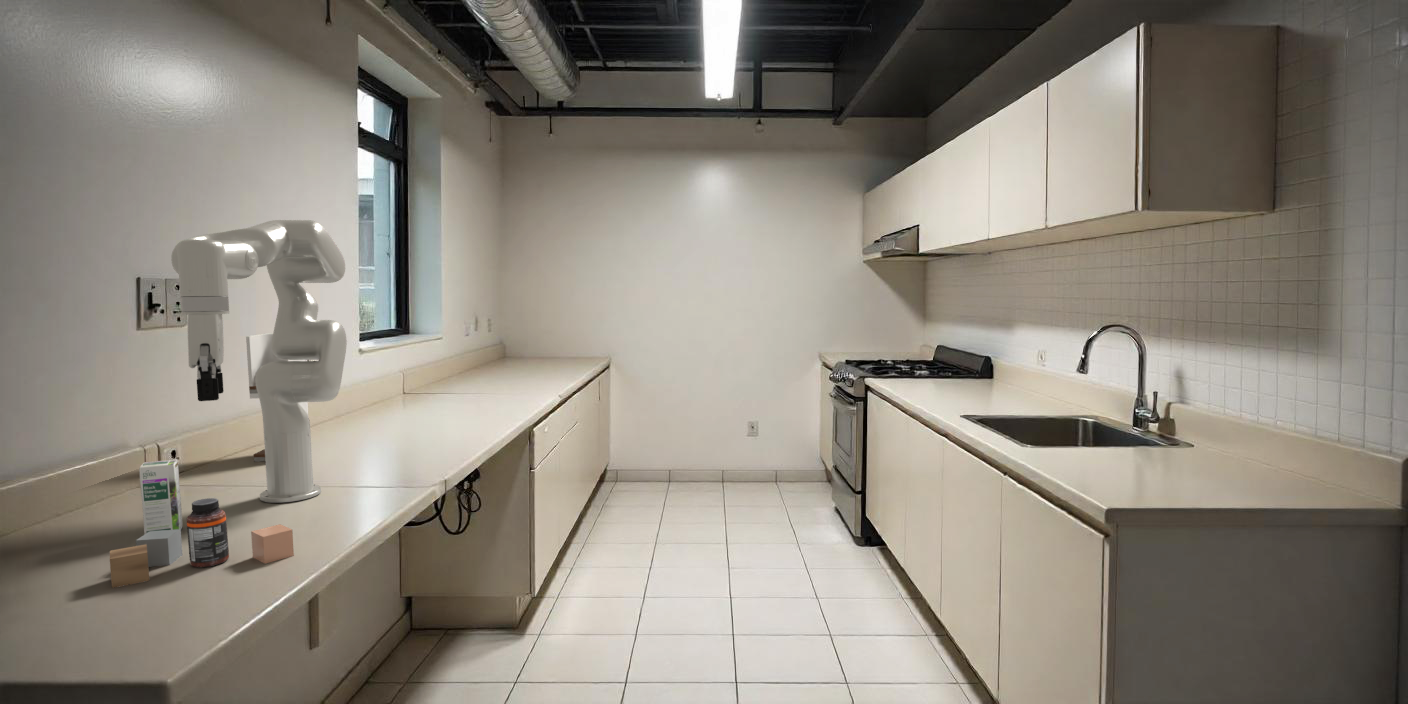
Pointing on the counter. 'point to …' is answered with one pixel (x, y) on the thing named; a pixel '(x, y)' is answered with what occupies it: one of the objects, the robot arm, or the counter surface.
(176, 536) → the slate grey block
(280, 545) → the terracotta block
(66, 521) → the counter surface
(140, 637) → the counter surface
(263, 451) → the display case
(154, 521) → the syrup box
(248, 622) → the counter surface
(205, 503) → the supplement bottle
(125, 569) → the walnut block
